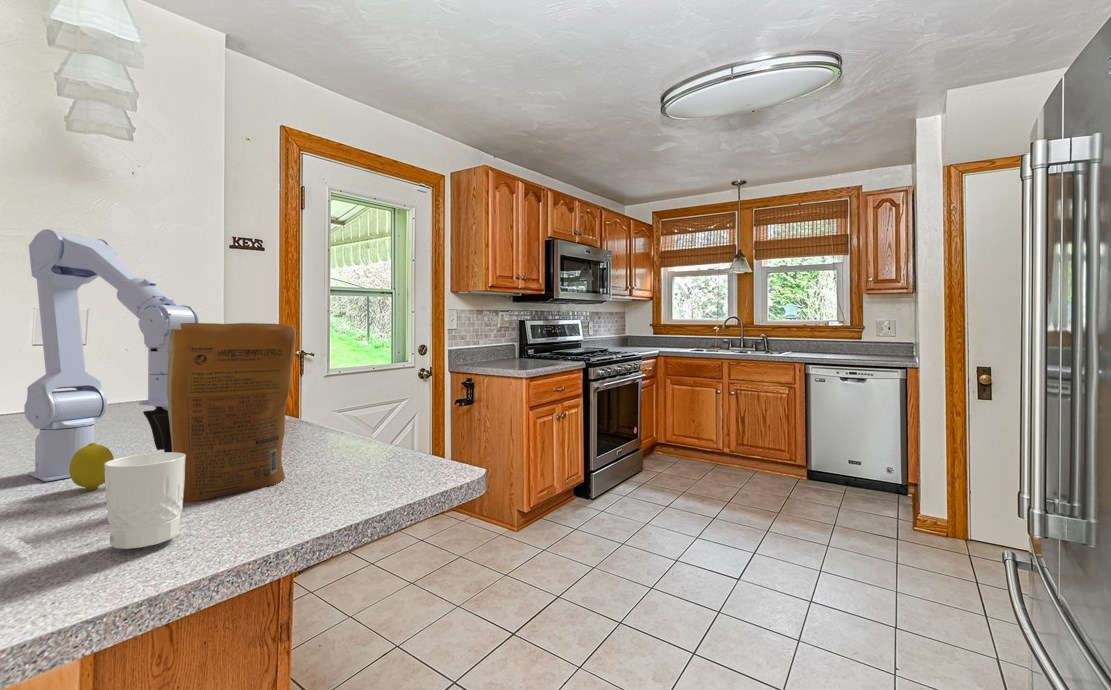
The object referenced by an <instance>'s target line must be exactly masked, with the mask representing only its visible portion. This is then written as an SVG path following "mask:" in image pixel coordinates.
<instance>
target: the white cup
mask: <svg viewBox="0 0 1111 690" xmlns="http://www.w3.org/2000/svg"><path fill="white" fill-rule="evenodd" d="M185 459H186V455H185V454H183V453H175V452H151V453H141V454H135V455H128V456H122V457H117V458H114V460H111V461H108V462H106V463H105V464H104V470H105V483H104V484H105V485H104V486H105V501H106V502H105V503H106V508H107V509H106V510H107V521H108V525H109V530H108V531H109V545H110V546H111V547H112V548H114V549H120V550H121V549H122V550H123V549H124V550H127V549H128V550H129V549H137V548H143V547H150V546H154V545H157V544H161V543H164V542H167V541H169V540H172V539H174V538H176V537H178V536H179V534H180V532H181V522H182V521H181V520H182V516H181V515H182V512H183V504H184V502H183V492H184V479H185Z"/></svg>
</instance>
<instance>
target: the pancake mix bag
mask: <svg viewBox="0 0 1111 690" xmlns="http://www.w3.org/2000/svg"><path fill="white" fill-rule="evenodd" d="M180 325H181V330H178V329H171V334H170V339H169V346H168V352H169V361H168V376H167V398H168V416H169V424H170V434H171V443H172V452H175V453H183V454H185V455H186V459H185V479H184V492H183V503H197V502H205V501H211V500H214V499H220V498H224V497H229V496H234V495H238V494H241V493H246V492H250V491H255V490H259V489H264V488H271V487H270V486H273V487H275V486H277V485H279V484H281V483H282V482H284V481H285V480H286V476H285V472H284V468H283V461H282V452H283V443H284V437H285V431H286V429H285V425H286V408H287V404H288V399H289V394H290V390H291V380H292V371H293V362H294V358H295V352H296V351H295V349H296V339H297V338H296V335H297V329H296V328H295V327H293V326H291V325H290V324H283V323H262V322H259V323H257V322H239V323H237V322H236V323H215V322H214V323H209V322H207V323H206V322H198V323H180ZM284 479H285V480H284ZM281 481H282V482H281ZM280 482H281V483H280ZM278 483H279V484H278ZM276 484H277V485H276ZM274 485H275V486H274Z"/></svg>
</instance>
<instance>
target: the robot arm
mask: <svg viewBox="0 0 1111 690" xmlns="http://www.w3.org/2000/svg"><path fill="white" fill-rule="evenodd" d="M28 250H29V251H28V252H29V261H30V271H31V276H32V277H33V278H34V279H35V280H36V287H37V288H36V289H37V296H38V298H37V299H38V304H39V305H38V307H39V317H40V327H41V329H40V330H41V336H42V338H41V339H42V349H43V350H42V351H43V357H44V367H45V374H44V375H43V376H41V377H40V378H39V379H37V380H35V381H34V382H32V383H31V384H30V385H28V386H27V387H26V388H27V390H26V391H27V397H26V401H25V403H24V415H25V418H26V420H27V421H28V423H30V424H31V425H32V426H33V427H34V428H33V429H36V430H37V429H38V430H39V432H38V434H37V436H36V437H35V443H34V449H35V450H34V471H33V470H32V471H28V472H27V475H28V476H30V477H31V478H36V479H39V480H40V481H43V482H49V481H51V482H52V481H57V480H62V479H68V478H71V477H70V472H69V467H70V462H71V459H72V457H73V455H74V454H75V453H76V452H77V451H78V450H80V449H81V448H83V447H85V446H88V445H89V444H90V443H95V424H99V423H100V422H99V421H100V419H102V418H103V416H104V415H105V414H106V411H107V410H108V398H107V397H106V395H105V393H104V390H103V388H102V381H101V380H100V379H98V378H97V377H95V376H93V375H92V374H90V373H88V371H86V363H85V353H84V342H83V334H82V322H81V313H80V303H79V293H78V290H79V288H81V286H82V285H87V284H90V283H92V282H93V281H94V280H95V279H97V278H98V277H100V278H101V279H103V280H104V281H105V282H107V283H108V284H109V285H110V286H111V287H113V288H114V289H115V290H117V291H116V298H117V300H118V301H119V302H120V304H122V305H123V306H124V307H125V308H126V309H127V310H128V311H129V312H131V313H132V314H133V315H134V316H135V317H136V318H138V328H139V329H140V332H141V333H142V335H143V338H144V339H143V341H144V342H143V343H144V345H145V348H147V349H148V350H147V353H148V356H147V357H148V358H147V361H148V362H147V363H148V364H147V365H148V366H147V374H148V375H147V399H144V400H138V405H139V406H149V407H153V408H154V409H153V410H144V411H142V414H143V415H144V416H145V418H146V420H147V421H148V424H149V425H150V430H151V432H152V437H153V442H154V445H155V448H156V450H157V451H161V450H163V451H164V452H163V453H165V452H172V443H171V434H170V424H169V416H168V398H167V376H168V361H169V352H168V346H169V339H170V334H171V329H178V330H181V325H180V323H199V317H198V314H197V313H196V311H195V310H194V309H193V307H192V306H189V305H183V304H182V305H180V304H179V303H176V302H175V301H174V299H173V297H172V296H170V295H167V294H166V293H165V292H163V291H162V289H160V288H159V287H157V284H158V283H157V282H156V281H155V280H154V279H150V278H145V277H137V276H136V275H135V274H134V273H133V271H131V270H130V269H129V268H128V267H127V266H126V265H125V263H123V262H122V261H121V259H120V258H119V257H118V255H117V254H118V253H117V248H116V247H115V246H113V245H111V243H110V242H108V240H106V239H103V238H93V237H88V236H83V235H82V236H81V235H78V234H77V235H75V234H70V233H66V232H60V231H56V230H53V229H49V228H46V229H42V230H40V231H39V232H37V233H36V234H35V235H34V237H33V239H32V240H31V242H30V243H29V244H28ZM60 389H62V390H60ZM63 389H67V390H63ZM68 389H69V390H68ZM55 390H56V391H55Z"/></svg>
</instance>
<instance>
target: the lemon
mask: <svg viewBox="0 0 1111 690" xmlns="http://www.w3.org/2000/svg"><path fill="white" fill-rule="evenodd" d="M114 459H115V458H114V456H113V453H112V451H111V450H110V449H109V448H108V447H106V446H105V445H101V444H97V443H96V442H94V443H90V444H89V445H88V446H85V447H83V448H81V449H80V450H78V451H77V452H76V453H75V454H74V455H73V457H72V459H71V462H70V467H69V472H70V477H69V478H70V480H71V481H72V482H73V483H74V484H75V485H77V486H79V487H82V488H86V489H87V490H89V491H94V490H96V489H97V488H98V487H100V486H101V485H103V484H105V470H104V464H105V463H106V462H108V461H111V460H114Z"/></svg>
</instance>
